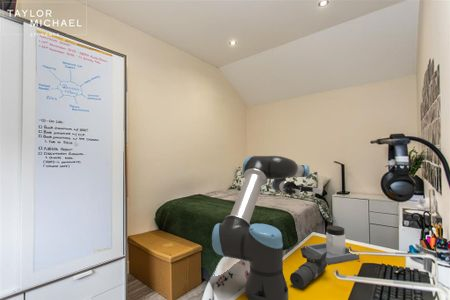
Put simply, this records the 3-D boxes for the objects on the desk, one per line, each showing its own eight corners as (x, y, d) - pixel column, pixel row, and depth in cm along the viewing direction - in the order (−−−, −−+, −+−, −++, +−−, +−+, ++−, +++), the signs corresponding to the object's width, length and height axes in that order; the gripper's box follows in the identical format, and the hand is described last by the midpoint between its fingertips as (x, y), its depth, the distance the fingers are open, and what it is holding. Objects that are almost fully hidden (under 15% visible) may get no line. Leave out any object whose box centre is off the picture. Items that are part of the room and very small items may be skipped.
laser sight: (285, 284, 90) (284, 257, 90) (310, 264, 106) (310, 242, 107) (309, 294, 83) (309, 265, 84) (332, 272, 99) (332, 248, 100)
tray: (328, 264, 106) (328, 258, 106) (305, 251, 121) (305, 245, 121) (359, 259, 111) (359, 252, 111) (334, 247, 126) (334, 241, 126)
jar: (323, 249, 121) (322, 226, 121) (335, 247, 123) (335, 224, 124) (336, 256, 112) (335, 231, 113) (349, 254, 115) (348, 229, 115)
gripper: (305, 192, 149) (329, 197, 129) (270, 194, 141) (290, 200, 121) (305, 180, 149) (329, 184, 129) (270, 182, 142) (290, 186, 121)
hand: (310, 192), depth 125 cm, fingers open, 13 cm apart
